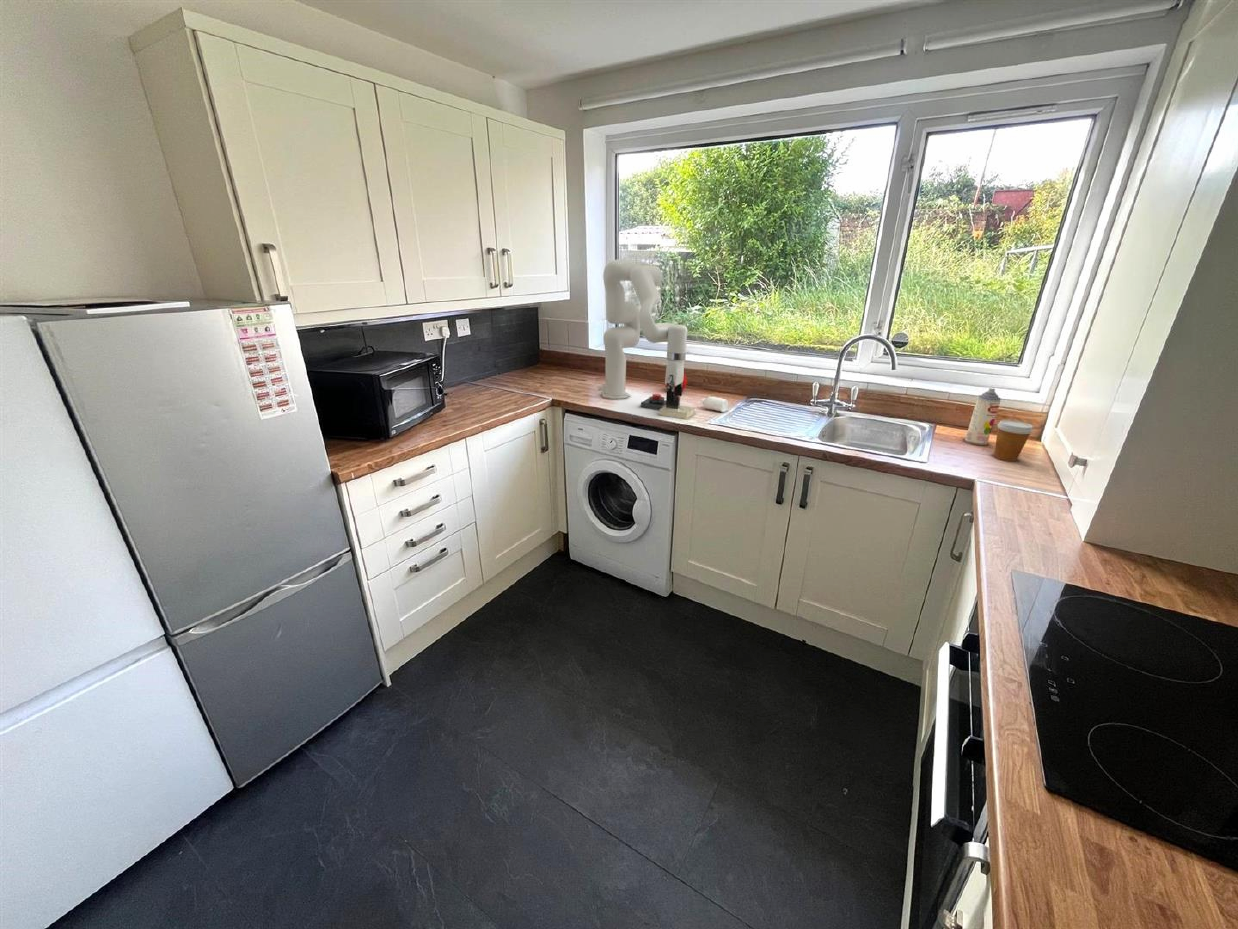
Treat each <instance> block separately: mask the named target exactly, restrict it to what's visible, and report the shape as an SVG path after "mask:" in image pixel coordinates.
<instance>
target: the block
mask: <svg viewBox="0 0 1238 929" xmlns="http://www.w3.org/2000/svg"><path fill="white" fill-rule="evenodd" d="M665 405H666V399H665V397H664V396H661V399H653V395H652V396H651V395H650V396H649V397H648V398H646V399H644V400H643V401H641V403H640V408H644V409H651V410H658V411H660V409H661V408H662V407H663V406H665Z"/></svg>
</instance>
